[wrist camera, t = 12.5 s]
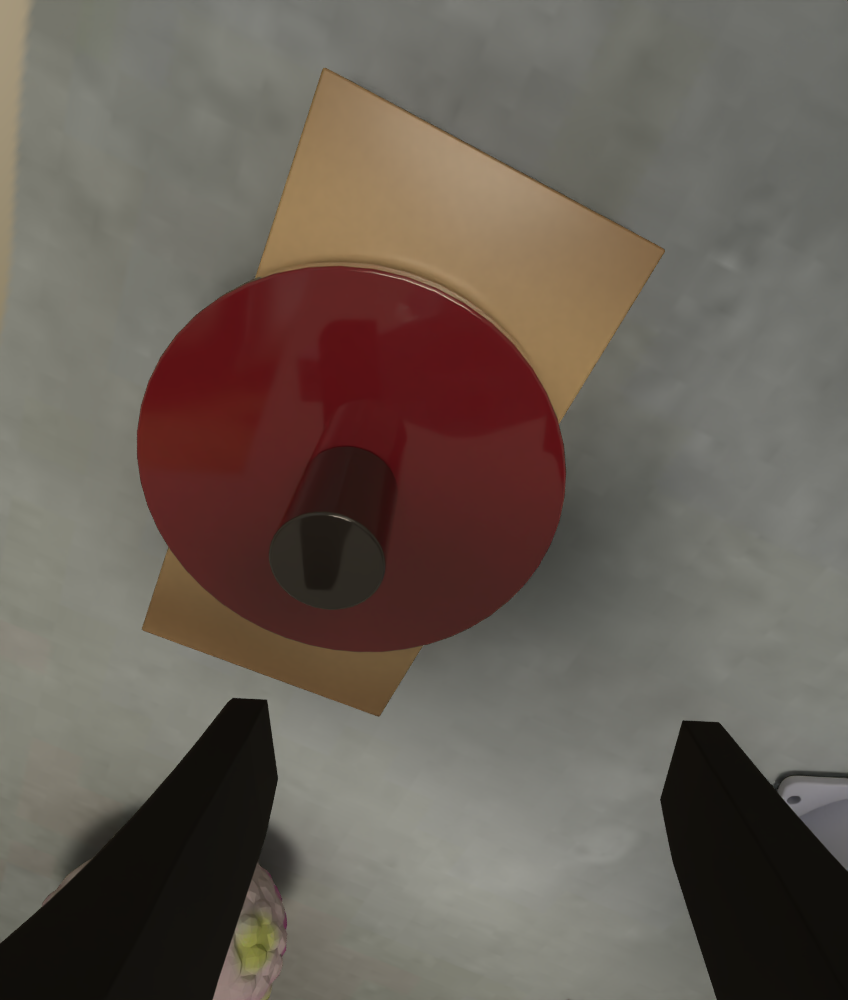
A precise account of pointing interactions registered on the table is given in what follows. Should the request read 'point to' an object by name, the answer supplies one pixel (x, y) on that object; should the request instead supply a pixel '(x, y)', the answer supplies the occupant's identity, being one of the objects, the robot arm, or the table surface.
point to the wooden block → (443, 260)
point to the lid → (351, 457)
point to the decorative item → (248, 941)
